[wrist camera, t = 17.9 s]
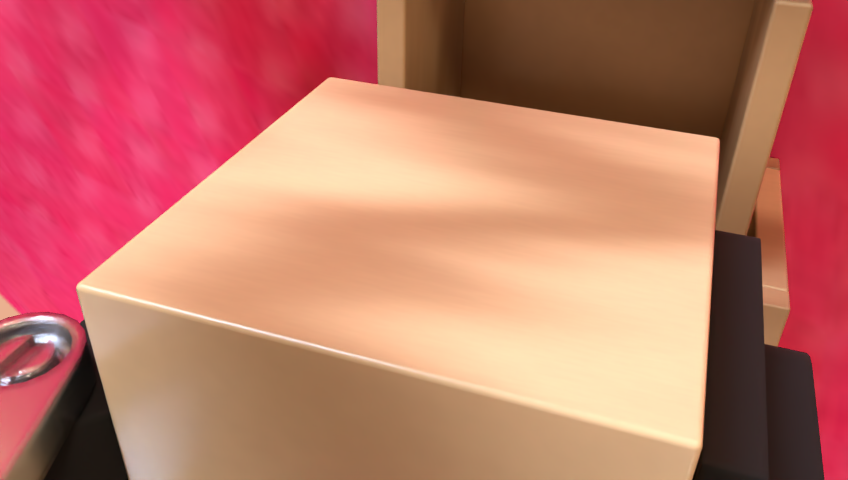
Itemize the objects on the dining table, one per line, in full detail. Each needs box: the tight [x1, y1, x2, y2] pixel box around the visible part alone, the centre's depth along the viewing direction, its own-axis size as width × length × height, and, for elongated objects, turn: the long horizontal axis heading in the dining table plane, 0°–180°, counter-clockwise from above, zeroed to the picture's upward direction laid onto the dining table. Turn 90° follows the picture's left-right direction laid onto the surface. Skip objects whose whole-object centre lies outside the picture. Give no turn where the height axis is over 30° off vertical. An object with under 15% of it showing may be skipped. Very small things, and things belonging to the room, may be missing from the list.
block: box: [76, 77, 720, 480], centre depth 9 cm, size 5×5×5 cm
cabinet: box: [747, 157, 790, 347], centre depth 28 cm, size 15×13×9 cm
